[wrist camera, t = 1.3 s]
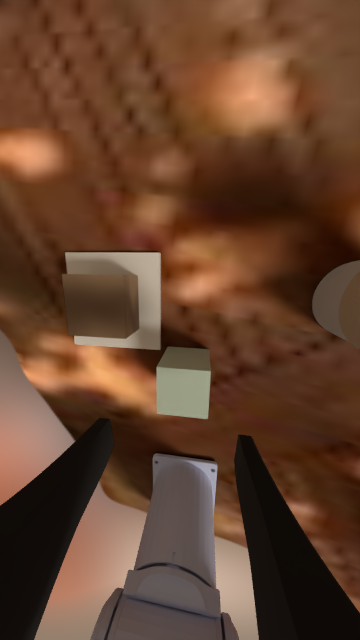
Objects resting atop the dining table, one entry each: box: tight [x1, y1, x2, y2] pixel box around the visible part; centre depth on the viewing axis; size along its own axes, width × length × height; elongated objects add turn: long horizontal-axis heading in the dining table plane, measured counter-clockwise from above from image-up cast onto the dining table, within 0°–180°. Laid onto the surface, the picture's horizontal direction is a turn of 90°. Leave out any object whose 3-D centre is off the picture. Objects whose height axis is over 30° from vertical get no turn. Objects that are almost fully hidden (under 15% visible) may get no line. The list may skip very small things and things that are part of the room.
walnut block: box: [62, 274, 139, 339], centre depth 18 cm, size 6×6×4 cm
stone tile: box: [65, 252, 161, 350], centre depth 19 cm, size 10×10×1 cm
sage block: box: [157, 347, 211, 419], centre depth 18 cm, size 4×4×5 cm
